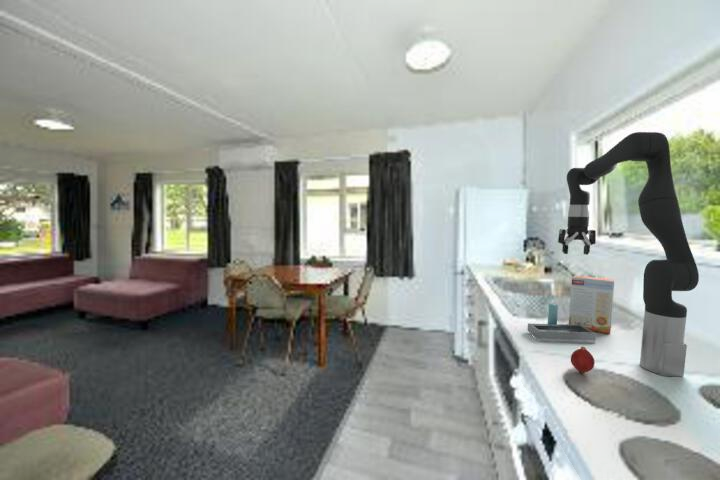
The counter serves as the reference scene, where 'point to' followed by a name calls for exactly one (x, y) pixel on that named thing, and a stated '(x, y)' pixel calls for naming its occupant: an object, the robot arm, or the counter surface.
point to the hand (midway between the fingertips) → (575, 254)
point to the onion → (582, 360)
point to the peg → (552, 314)
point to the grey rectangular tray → (561, 333)
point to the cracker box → (591, 303)
